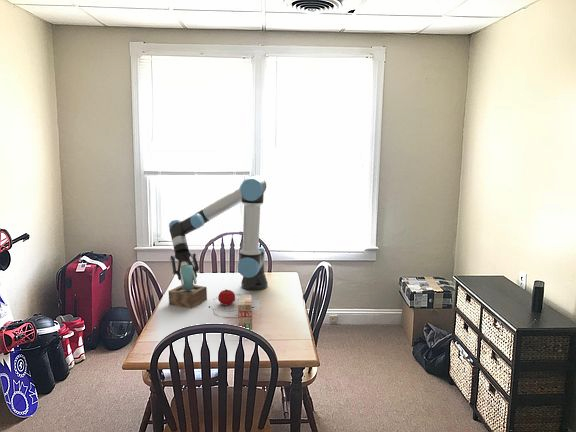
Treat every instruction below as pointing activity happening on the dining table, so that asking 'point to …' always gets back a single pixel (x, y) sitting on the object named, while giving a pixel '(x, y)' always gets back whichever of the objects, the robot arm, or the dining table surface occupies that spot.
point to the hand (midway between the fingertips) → (189, 283)
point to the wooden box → (187, 296)
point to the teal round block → (187, 277)
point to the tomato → (226, 297)
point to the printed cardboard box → (245, 311)
